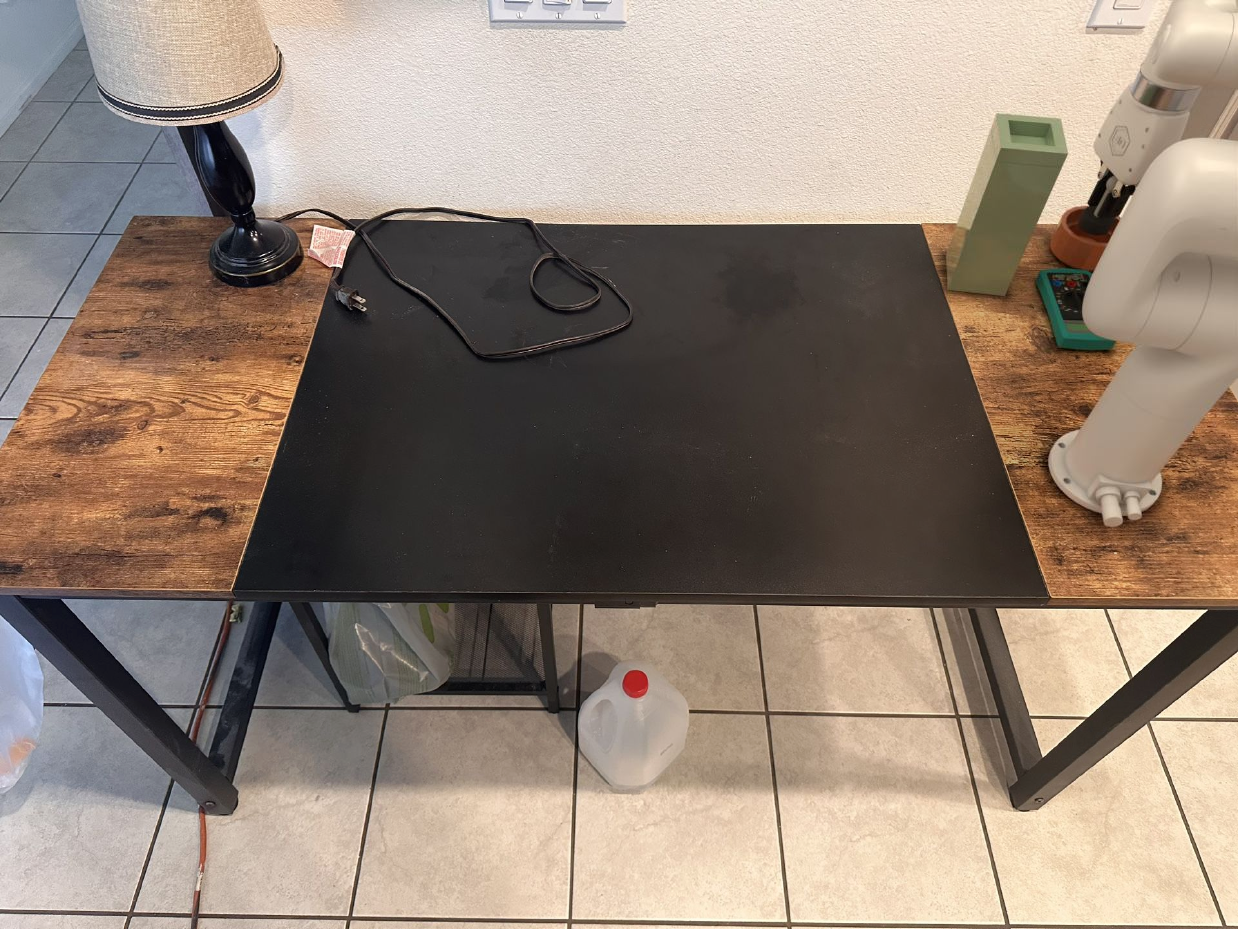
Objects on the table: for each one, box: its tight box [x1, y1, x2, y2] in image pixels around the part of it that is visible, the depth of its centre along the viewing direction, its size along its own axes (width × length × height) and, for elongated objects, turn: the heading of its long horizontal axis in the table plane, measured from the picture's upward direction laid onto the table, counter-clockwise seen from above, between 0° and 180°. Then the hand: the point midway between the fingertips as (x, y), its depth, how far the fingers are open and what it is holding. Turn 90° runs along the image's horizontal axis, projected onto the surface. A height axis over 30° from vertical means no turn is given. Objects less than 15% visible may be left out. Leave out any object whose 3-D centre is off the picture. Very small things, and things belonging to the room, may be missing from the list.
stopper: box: [1078, 176, 1118, 235], centre depth 122 cm, size 4×4×8 cm
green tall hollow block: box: [945, 112, 1069, 297], centre depth 117 cm, size 8×8×23 cm
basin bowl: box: [1049, 205, 1122, 272], centre depth 127 cm, size 9×10×5 cm
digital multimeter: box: [1034, 267, 1118, 351], centre depth 120 cm, size 7×15×3 cm, turn 176°
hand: (1102, 209), depth 123 cm, fingers closed on stopper, 2 cm apart
